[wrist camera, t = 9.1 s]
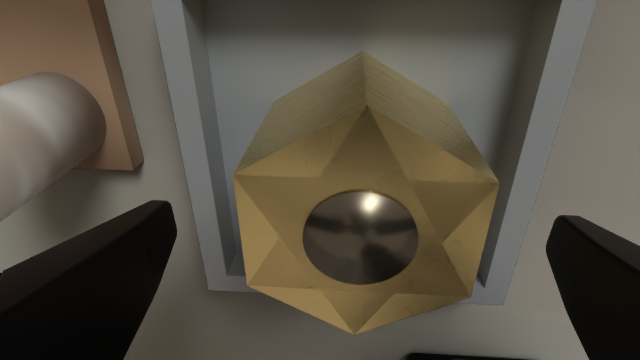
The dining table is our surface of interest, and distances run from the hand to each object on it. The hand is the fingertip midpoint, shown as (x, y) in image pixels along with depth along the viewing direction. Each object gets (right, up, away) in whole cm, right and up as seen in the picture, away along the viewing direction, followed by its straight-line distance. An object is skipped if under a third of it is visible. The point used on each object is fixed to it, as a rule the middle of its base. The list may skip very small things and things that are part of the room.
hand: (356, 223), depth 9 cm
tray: (0, +2, +4) cm, 5 cm away
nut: (0, +2, +4) cm, 5 cm away
